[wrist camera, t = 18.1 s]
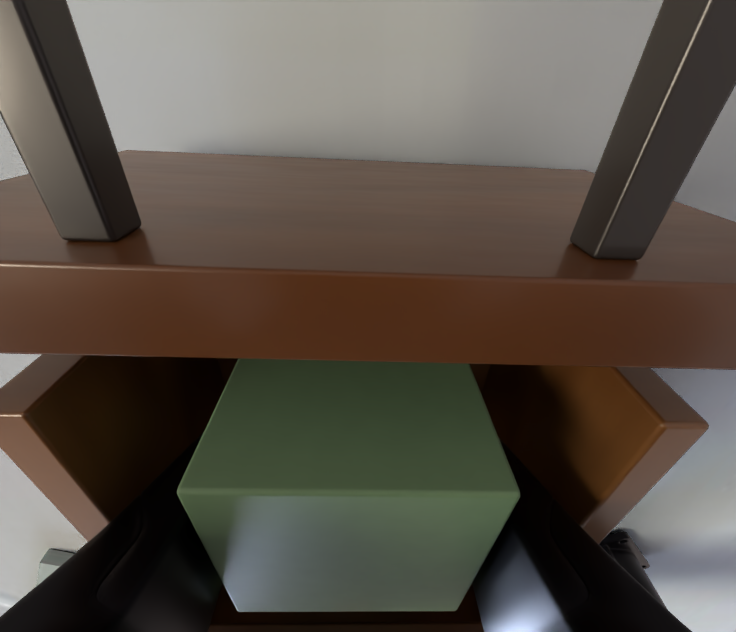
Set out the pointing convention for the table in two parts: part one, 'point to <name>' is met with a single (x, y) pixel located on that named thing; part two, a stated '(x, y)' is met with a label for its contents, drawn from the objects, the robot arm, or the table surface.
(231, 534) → the block
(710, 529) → the table surface
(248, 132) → the table surface
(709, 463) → the table surface
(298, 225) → the drawer
